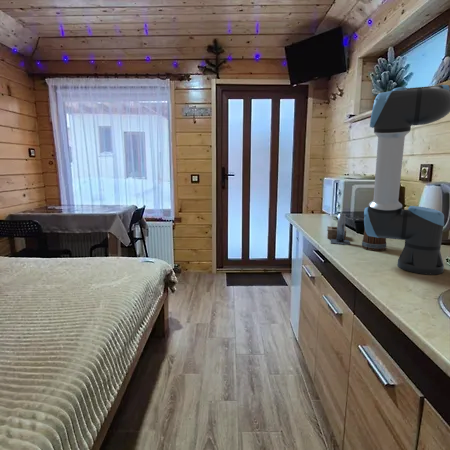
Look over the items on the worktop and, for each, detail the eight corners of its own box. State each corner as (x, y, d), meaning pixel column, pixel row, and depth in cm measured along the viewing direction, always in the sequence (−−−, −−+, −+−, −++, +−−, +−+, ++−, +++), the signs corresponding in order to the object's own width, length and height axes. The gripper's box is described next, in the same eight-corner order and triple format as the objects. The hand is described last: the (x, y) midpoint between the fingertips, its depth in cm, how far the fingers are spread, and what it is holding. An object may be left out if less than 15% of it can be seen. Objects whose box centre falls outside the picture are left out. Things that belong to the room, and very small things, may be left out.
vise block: (345, 240, 168) (346, 230, 167) (326, 238, 170) (327, 229, 169) (344, 236, 176) (345, 227, 175) (326, 235, 179) (327, 226, 178)
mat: (350, 244, 158) (350, 244, 158) (330, 243, 160) (330, 242, 160) (348, 240, 166) (348, 239, 166) (330, 239, 169) (330, 238, 169)
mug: (388, 251, 146) (392, 219, 143) (364, 250, 148) (366, 218, 145) (379, 243, 161) (382, 213, 158) (357, 242, 163) (359, 213, 160)
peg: (343, 242, 161) (345, 214, 158) (336, 242, 162) (338, 214, 159) (343, 240, 164) (345, 213, 162) (336, 240, 165) (337, 213, 163)
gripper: (412, 119, 140) (407, 169, 144) (399, 125, 164) (395, 167, 168) (393, 120, 142) (388, 169, 147) (383, 126, 166) (379, 167, 170)
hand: (392, 168), depth 157 cm, fingers open, 13 cm apart
